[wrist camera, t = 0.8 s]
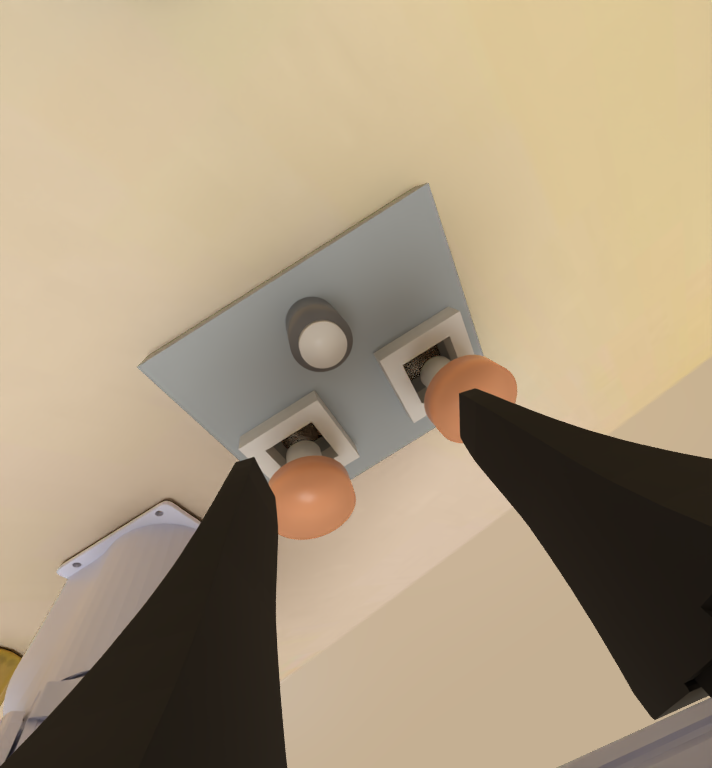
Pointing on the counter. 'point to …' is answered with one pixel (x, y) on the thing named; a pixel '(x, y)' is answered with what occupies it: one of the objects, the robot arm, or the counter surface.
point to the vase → (7, 670)
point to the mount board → (361, 368)
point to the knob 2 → (461, 388)
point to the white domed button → (317, 334)
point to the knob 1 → (311, 493)
